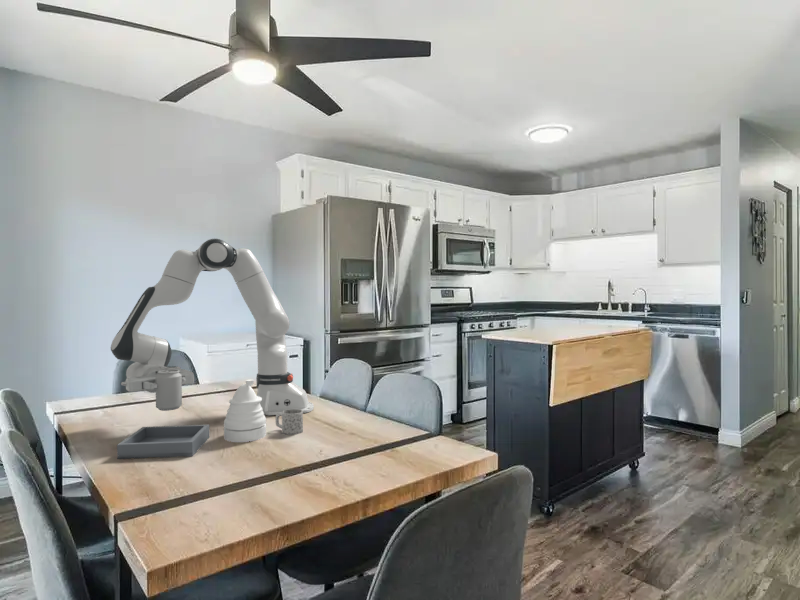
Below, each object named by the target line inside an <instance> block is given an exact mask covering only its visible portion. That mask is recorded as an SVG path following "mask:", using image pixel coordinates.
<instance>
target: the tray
mask: <svg viewBox="0 0 800 600" xmlns="http://www.w3.org/2000/svg"><path fill="white" fill-rule="evenodd" d="M210 437H211V436H210V424H191V425H188V424H187V425H162V426H161V425H160V426H156V425H155V426H142V427H141V428H139V429H137V430H136V431H135V432H134V433H131V434H130V435H129V436H128V437H126V438H125V439H123V440H122V441H121V442H119V443H118V444H117V445H116V449H117V451H116V452H117V453H116V457H117V458H116V459H117V460H126V459H128V460H130V459H131V458H134V459H149V458H148V457H160V458H178V457H177V456H185V457H193V456H195V454H196V453H197V452H198V451H199V450H200V448H202V447H203V445H204V444H205V443H206V442H207V441H208V440H209V438H210ZM207 439H208V440H207ZM198 449H199V450H198ZM197 450H198V451H197ZM131 460H132V459H131Z"/></svg>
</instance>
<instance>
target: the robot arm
mask: <svg viewBox="0 0 800 600" xmlns="http://www.w3.org/2000/svg"><path fill="white" fill-rule="evenodd" d="M222 269H225V270H226V271H228V272H229V273H230V275H231V276H232V278H233V280H234V282H235V284H236V287H237V288H238V291H239V292H240V294H241V297H242V299H243V300H244V303H245V304H246V307H247V308H248V309H249V311H250V313H251V315H252V316H253V318H254V320H255V321H254V322H255V323H254V324H255V337H256V338H255V339H256V340H255V341H256V350H257V351H256V352H257V373H256V380H255V382H256V388H257V392H256V396H259V397H261V398H262V401H261V402H260V405H261V407H262V409H263V410H262V411H263V412H264V416H276V414H277V413H280V412H282V411H284V410H289V409H300V410H302V411H303V414H305V413H310V412H312V411H313V410H314V408H315V406H314V403H313V402H311V401H310V402H309V399H308V395H307V392H306V390H305V389H304V388H302V387H300V385H297V384H296V383H295V382H294V375H293V373H290V372H289V371H288V349H287V342H286V334H287V332H288V331H289V329H290V318H289V317H288V315H287V313H286V311H285V309H284V308H283V306H282V304H281V301H280V300H279V298H278V296H277V295H276V292H274V290H273V288H272V286H271V283H270V282H269V280H268V278H267V275H266V274H265V271H264V269H263V268H262V266H261V264H260V262H259V260H258V259H257V257H256V255H255V254H254V253H253V252H252V251H251V250H250V249H249V248H243V247H241V248H237V249H235V247H233V246H231V245H230V244H229V243H227V242H226V241H224V240H223V239H220V238H210V239H207V240H206V241H204V242H203V243H201V244H200V245H199V247H198V249H196V250H195V251H191V250H188V249H178V250H176V251H174V252H173V253H172V255H171V256H170V258H169V260H168V262H167V264H166V266H165V267H164V270H163V273H162V275H161V277H160V279H159V280H158V282H157V283H156V284H155V285H153V286H149V287H147V288H146V289H145V291H144V292H142V294H141V295H140V297H139V298H138V300H137V302H136V304H135V305H134V306H133V308H132V310H131V312H130V313H129V315H128V317H127V318H126V320H125V321H124V323H123V325H122V326H121V328H120V329H119V330H118V331H117V333H116V334H115V336H114V338H113V339H112V342H111V345H110V351H111V352H112V355H113V356H114V357H115V358H116V359H117V360H118V361H119V360H120V361H128V362H129V361H130V362H133V363H131V364H130V365H129V366H128V367H127V369H126V371H125V372H126V374H125V376H126V379H125V381H121V383H120V384H121V386H124V387H125V390H126V391H128V392H129V393H137V392H143V391H146V392H148V393H151V394H153V393H154V394H156V389H157V383H155V377H156V376H157V374H158V371H161V370H172V369H173V370H179V373H180V374H181V375H182V386H186V385H192V384H194V382H195V374H194V372H192V371H191V370H188V369H183V368H181V367H180V366H178V365H177V366H176V365H175V366H173V365H172V366H168V365H169V363H170V361H171V358H172V352H173V351H172V347H171V344H170V342H169V341H168V339H164V338H161V337H156V336H152V335H149V334H145V333H140V332H138V331H139V329H140V327H141V326H142V324H143V322H144V320H145V319H146V317H147V316H148V314H149V312H150V311H151V310H152V309H154V308H156V307H159V306H160V307H161V306H173V305H174V306H175V305H179V304H182V303H184V302H186V301H187V300H188V299H190V297H191V295H192V293H193V290H194V289H195V284H196V282H197V279H198V277H199V275H200V273H202V272H216V271H221V270H222Z"/></svg>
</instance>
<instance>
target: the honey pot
mask: <svg viewBox="0 0 800 600" xmlns="http://www.w3.org/2000/svg"><path fill="white" fill-rule="evenodd" d="M254 382H255V379H245V383H241V385H239V386H238V387H237V388H236V391H235V392H234V394H233V397H232V398H230V399H229V401H228V403H229V407H228V409H227V410H226V414H225V418H224V420H223V439H224V441H226V440H227V441H226V442H230V441H231V442H230V443H249V441H250V442H255V441H259V440H260V439H263V438H265V437H266V436H267V418H266V415H265V414H264V412H263V411H262V410H263V409H262V407H261V405H260V402H261V401H262V398H261V397H259V396H257V393H256V392H255V390H254V389H253V387H252V386H253V385H254Z"/></svg>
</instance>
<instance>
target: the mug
mask: <svg viewBox="0 0 800 600" xmlns="http://www.w3.org/2000/svg"><path fill="white" fill-rule="evenodd" d="M303 415H304V413H303V411H302V410H300V409H289V410H284V411H282V412H280V413H277V414H276V415H275V425H276V427H278V428H279V429H281V433H282V434H284V435H290V436H292V435H298V434H301V433H303V432H304V422H303V421H304V419H303V418H304V416H303ZM280 416H281V423H280Z"/></svg>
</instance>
